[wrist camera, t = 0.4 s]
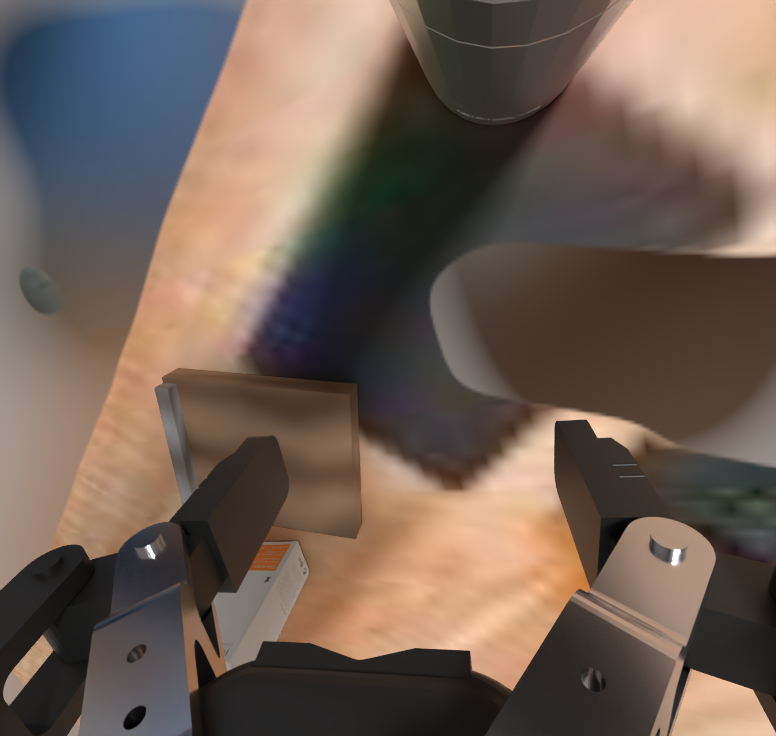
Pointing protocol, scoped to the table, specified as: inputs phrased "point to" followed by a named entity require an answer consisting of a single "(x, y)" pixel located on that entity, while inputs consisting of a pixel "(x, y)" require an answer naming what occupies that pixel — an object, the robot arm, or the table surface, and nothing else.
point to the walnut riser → (278, 418)
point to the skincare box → (260, 601)
